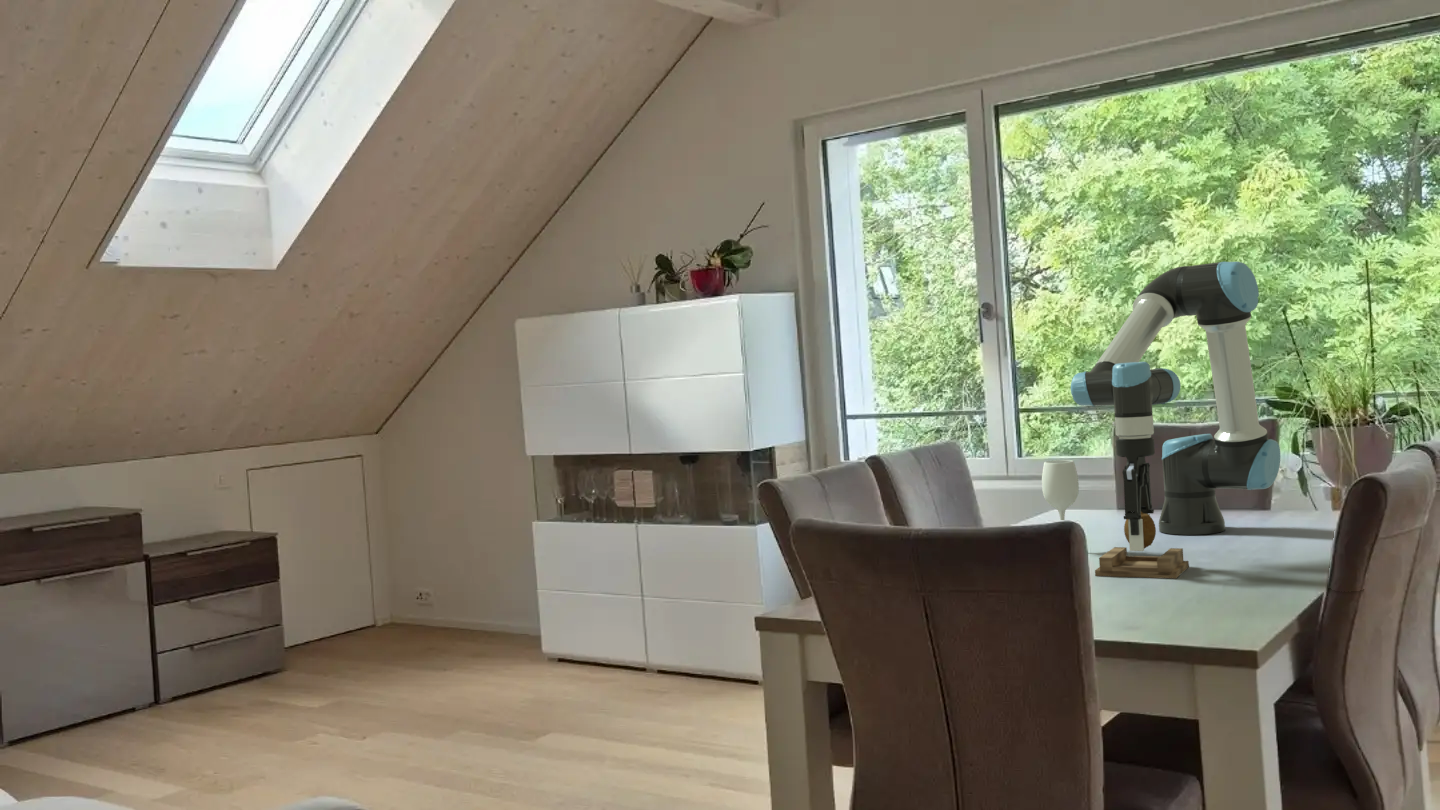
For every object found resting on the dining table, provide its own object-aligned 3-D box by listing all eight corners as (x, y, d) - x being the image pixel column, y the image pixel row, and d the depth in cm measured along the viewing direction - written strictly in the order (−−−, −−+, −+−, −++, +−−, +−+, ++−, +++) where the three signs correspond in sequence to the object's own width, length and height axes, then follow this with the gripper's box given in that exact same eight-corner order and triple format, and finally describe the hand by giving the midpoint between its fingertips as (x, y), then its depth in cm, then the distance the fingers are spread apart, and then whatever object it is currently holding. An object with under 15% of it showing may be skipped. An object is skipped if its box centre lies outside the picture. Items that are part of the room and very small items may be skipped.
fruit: (1118, 549, 260) (1116, 511, 260) (1141, 545, 263) (1139, 507, 263) (1139, 552, 255) (1137, 514, 254) (1163, 549, 257) (1161, 510, 257)
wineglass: (1085, 554, 283) (1079, 462, 282) (1045, 555, 285) (1040, 464, 284) (1082, 548, 291) (1076, 458, 291) (1043, 549, 293) (1038, 460, 292)
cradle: (1110, 564, 269) (1109, 547, 269) (1188, 566, 260) (1187, 548, 260) (1095, 576, 258) (1094, 557, 258) (1176, 578, 249) (1175, 559, 249)
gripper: (1126, 433, 268) (1132, 540, 269) (1104, 441, 252) (1110, 555, 253) (1163, 432, 264) (1169, 540, 265) (1142, 440, 248) (1149, 556, 249)
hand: (1140, 547), depth 259 cm, fingers closed on fruit, 6 cm apart
